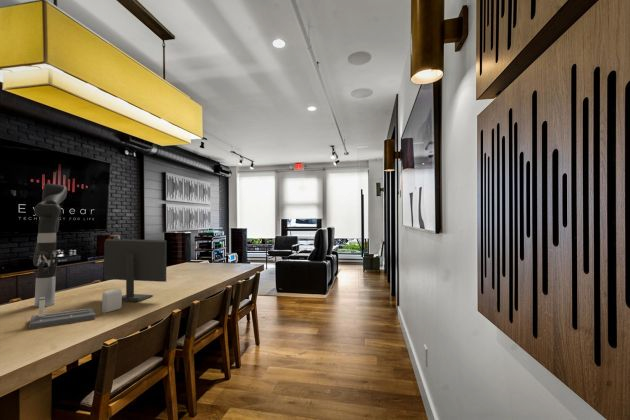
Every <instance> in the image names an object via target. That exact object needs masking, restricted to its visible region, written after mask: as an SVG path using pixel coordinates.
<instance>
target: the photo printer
mask: <svg viewBox="0 0 630 420" xmlns="http://www.w3.org/2000/svg"><path fill="white" fill-rule="evenodd" d="M122 296H123V291H122V289H121V288H111V289H108V290H106V291H104V292H102V298H101V299H102V301H101V312H102V313H104V314H106V313H109V312H113V311H117V310H121V309H122V308H123V307H122V304H123V303H122V302H123V301H122Z"/></svg>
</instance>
